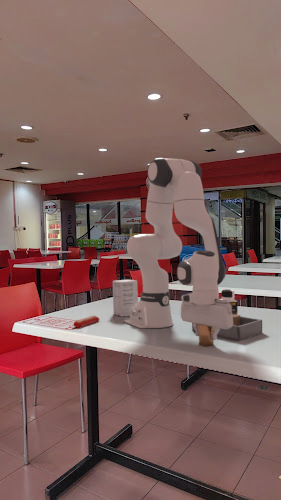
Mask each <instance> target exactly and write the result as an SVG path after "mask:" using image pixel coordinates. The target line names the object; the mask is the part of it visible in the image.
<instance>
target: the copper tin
mask: <svg viewBox="0 0 281 500" xmlns="http://www.w3.org/2000/svg"><path fill="white" fill-rule="evenodd" d="M210 334H213V327H211V326H206V325H201V324H199V336H198V345H199V346H200V347H207V348H208V347H214V342H215V340H212V339H210V337H211V336H210Z"/></svg>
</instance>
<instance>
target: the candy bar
mask: <svg viewBox="0 0 281 500" xmlns="http://www.w3.org/2000/svg"><path fill="white" fill-rule="evenodd" d="M99 321H100V318H99V317H98V316H96V315H91V316H88V317H85V318H80V319H78V320H76V321H74V323H72V325H73V326H74V327H75V328H77V329H81V328H84V327H86V326H90V325H93V324H95V322H96V323H98V322H99ZM80 327H81V328H80Z"/></svg>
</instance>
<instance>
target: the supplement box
mask: <svg viewBox="0 0 281 500" xmlns="http://www.w3.org/2000/svg"><path fill="white" fill-rule="evenodd" d="M138 296H139V293H138V280H134V279H121V280H120V279H119V280H112V305H113V309H112V310H113V313H112V314H113V315H115V314H116V315H115V316H118V315H119V317H121V316H122V317H123V318H124V316H125V317H130V310H131V308H132V307H133V306H135V305H136V304H137V303H138V302H139V297H138ZM122 317H121V318H122Z"/></svg>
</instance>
